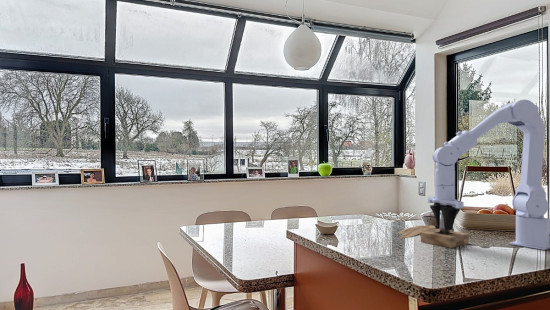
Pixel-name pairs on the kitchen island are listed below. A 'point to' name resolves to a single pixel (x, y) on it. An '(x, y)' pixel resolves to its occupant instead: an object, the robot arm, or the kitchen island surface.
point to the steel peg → (442, 229)
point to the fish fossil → (415, 231)
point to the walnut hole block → (445, 238)
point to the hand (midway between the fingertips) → (444, 228)
